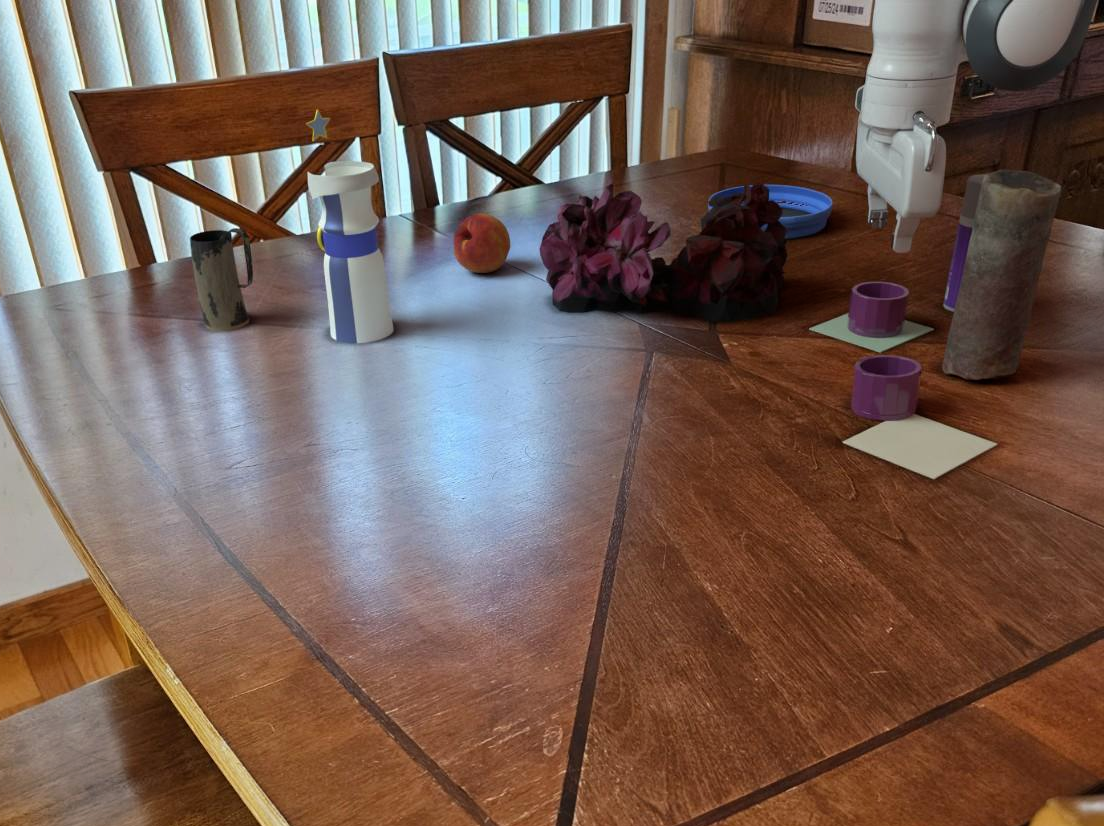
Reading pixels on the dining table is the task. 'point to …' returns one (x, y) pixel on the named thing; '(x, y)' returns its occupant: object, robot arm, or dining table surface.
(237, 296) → the mug
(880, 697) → the dining table surface
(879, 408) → the dish
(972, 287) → the grey stone cylinder
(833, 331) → the pad far
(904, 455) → the pad near
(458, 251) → the fruit
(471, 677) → the dining table surface
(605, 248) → the flower arrangement
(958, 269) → the container
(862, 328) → the dish
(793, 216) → the bowl
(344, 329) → the water bottle
